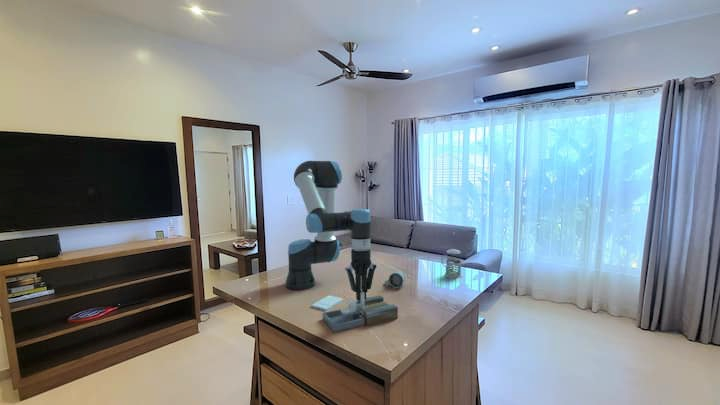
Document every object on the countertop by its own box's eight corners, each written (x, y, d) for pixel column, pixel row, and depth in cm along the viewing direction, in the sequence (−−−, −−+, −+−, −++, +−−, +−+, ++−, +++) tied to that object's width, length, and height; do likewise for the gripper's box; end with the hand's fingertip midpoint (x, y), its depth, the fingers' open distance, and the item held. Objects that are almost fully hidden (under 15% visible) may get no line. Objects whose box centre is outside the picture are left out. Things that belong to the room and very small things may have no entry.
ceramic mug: (406, 283, 155) (405, 269, 155) (403, 288, 147) (402, 273, 147) (386, 281, 159) (386, 267, 158) (382, 287, 151) (382, 272, 150)
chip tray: (322, 319, 115) (322, 312, 115) (351, 312, 121) (351, 306, 121) (333, 332, 105) (333, 326, 105) (364, 325, 110) (364, 318, 110)
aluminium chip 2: (348, 311, 116) (348, 301, 115) (357, 308, 117) (357, 299, 117) (352, 315, 112) (352, 305, 112) (362, 312, 114) (361, 302, 114)
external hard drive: (343, 302, 133) (326, 312, 123) (328, 298, 138) (311, 308, 127) (343, 298, 133) (326, 308, 123) (328, 294, 137) (311, 304, 127)
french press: (464, 278, 163) (465, 233, 161) (443, 278, 163) (444, 233, 161) (459, 272, 173) (459, 230, 171) (439, 272, 173) (439, 230, 171)
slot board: (351, 311, 122) (351, 300, 122) (379, 305, 128) (379, 295, 128) (367, 325, 110) (367, 314, 109) (397, 318, 116) (397, 307, 115)
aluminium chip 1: (348, 316, 116) (339, 319, 114) (348, 307, 116) (339, 309, 114) (353, 321, 112) (343, 323, 110) (352, 311, 112) (343, 313, 110)
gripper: (349, 252, 108) (350, 314, 110) (380, 248, 114) (380, 308, 116) (341, 248, 115) (342, 307, 116) (370, 245, 121) (371, 301, 122)
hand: (361, 307), depth 116 cm, fingers closed
